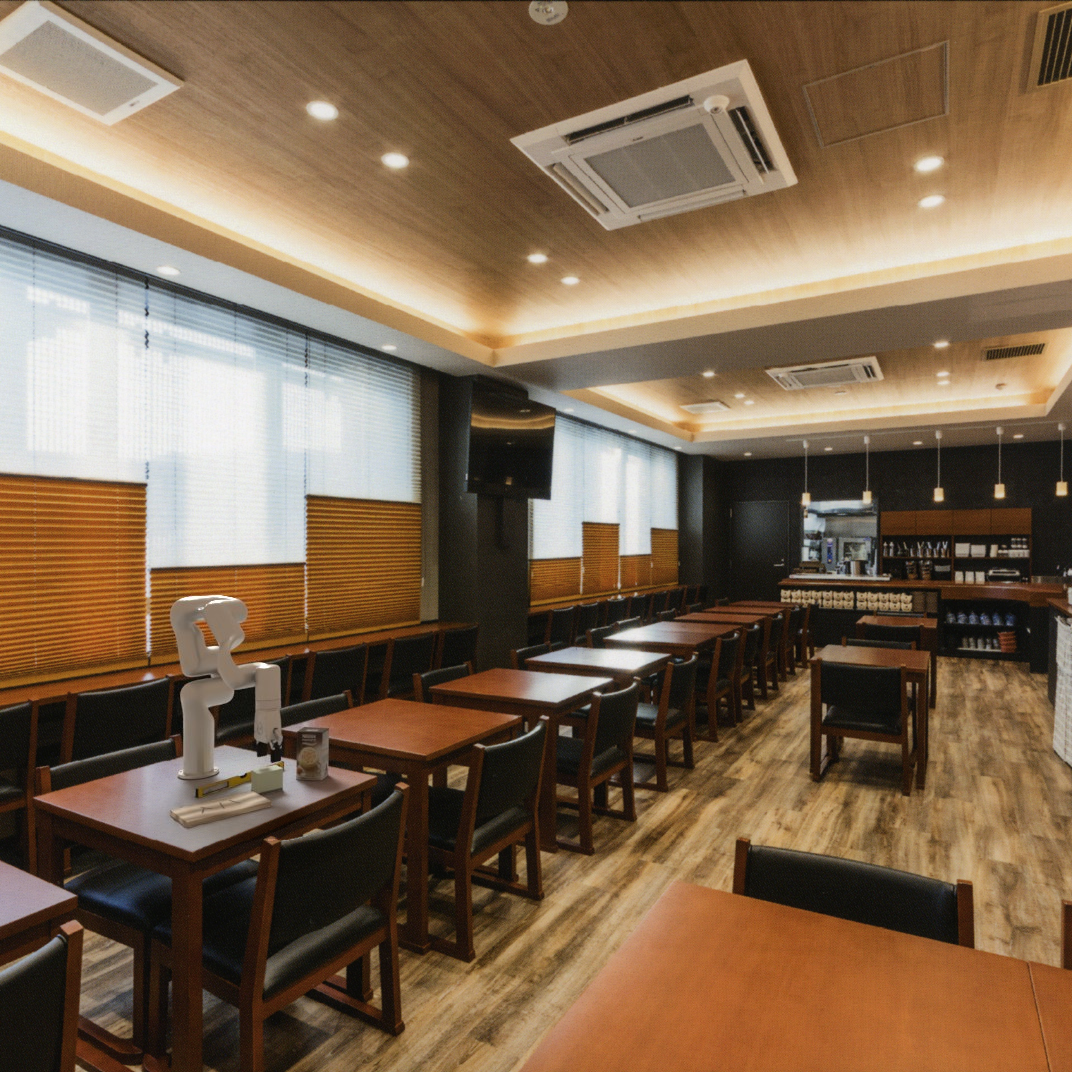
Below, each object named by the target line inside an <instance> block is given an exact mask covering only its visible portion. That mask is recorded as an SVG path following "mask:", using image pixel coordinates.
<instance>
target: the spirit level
mask: <svg viewBox="0 0 1072 1072" xmlns="http://www.w3.org/2000/svg"><path fill="white" fill-rule="evenodd" d="M273 765H277V766H279V767H281V768H283V771H284V770H285V761H283V760H281V761H279V762H274V763H271V764H269V765H266V766H262V768H264V767H269V766H273ZM250 781H251V770H250V771H248V772H247V771H246V772H245V773H244V774H242V775H235V776H231V777H229V778H226V779H225V778H224V779H221V780H219V781H216V782H213V783H209V784H207V785H203V786H200V787H196V788H194V790H195V791H194V793H195V794H194V798H197V799H199V798H201V797H204V796H208V795H211V794H213V793H217V792H221V791H223V790H226V789H229V788H232V787H235V786H238V785H240V784H244V783H246V782H250Z"/></svg>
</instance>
